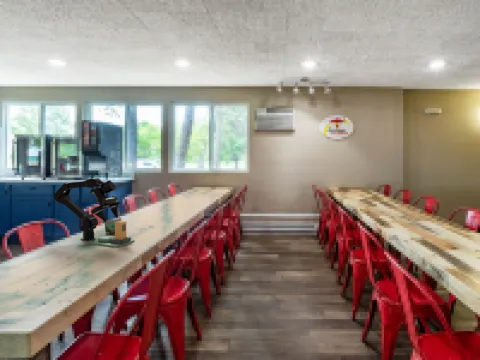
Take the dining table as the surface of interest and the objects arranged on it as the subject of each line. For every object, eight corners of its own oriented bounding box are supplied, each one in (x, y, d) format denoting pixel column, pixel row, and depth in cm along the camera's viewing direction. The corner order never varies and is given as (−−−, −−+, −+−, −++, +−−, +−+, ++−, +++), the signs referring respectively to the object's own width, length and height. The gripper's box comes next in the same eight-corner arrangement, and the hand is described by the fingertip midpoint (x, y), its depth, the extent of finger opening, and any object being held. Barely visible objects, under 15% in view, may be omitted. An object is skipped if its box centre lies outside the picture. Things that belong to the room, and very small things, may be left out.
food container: (108, 236, 209) (108, 221, 208) (103, 234, 213) (103, 219, 212) (125, 232, 219) (125, 218, 218) (120, 231, 223) (120, 217, 222)
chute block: (115, 242, 190) (114, 222, 189) (120, 240, 194) (120, 220, 193) (121, 243, 188) (121, 222, 187) (126, 241, 193) (126, 221, 192)
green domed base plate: (90, 243, 190) (90, 238, 189) (108, 238, 204) (108, 232, 203) (117, 247, 183) (117, 241, 183) (134, 241, 197) (134, 236, 197)
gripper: (97, 195, 185) (108, 219, 184) (120, 189, 202) (131, 211, 201) (85, 202, 189) (96, 225, 189) (109, 195, 206) (119, 217, 206)
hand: (111, 219), depth 196 cm, fingers open, 9 cm apart
